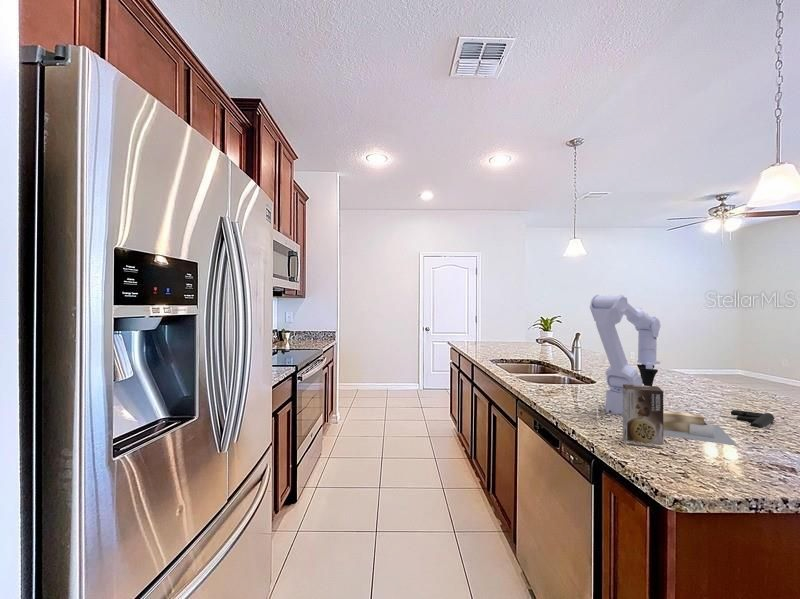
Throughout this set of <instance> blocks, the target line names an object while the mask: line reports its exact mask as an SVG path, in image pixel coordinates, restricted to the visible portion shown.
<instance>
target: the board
mask: <svg viewBox="0 0 800 599" xmlns="http://www.w3.org/2000/svg"><path fill="white" fill-rule="evenodd" d="M710 424H711V423H710ZM711 425H712V426H713V427H714V438H713V437H705V436H698V435H690V434H689V433H687V432H680V431H672V430H664V429H663V434H664V436H665V437H672V438H678V439H679V438H680V439H686V440H693V441H701V442H708V443H716V444H722V445H730V446H737V447H738V446H739V444H737V443H736V442H735V440H733V439H732V438H731V437H730V435H728V433H726V431H725V430H723V429H722V428H721V426H719V425H718V424H711ZM664 436H663V437H664Z"/></svg>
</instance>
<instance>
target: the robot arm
mask: <svg viewBox="0 0 800 599" xmlns="http://www.w3.org/2000/svg"><path fill="white" fill-rule="evenodd" d="M589 309H590V312H591V315H592V318H593V321H594V322H595V327H596V329H597V332H598V334H599V337H600V340H601V343H602V346H603V349H604V353H605V355H606V357H607V360H608V363H609V365H610V366H608V368H607V369H606V370H605V376H606V383H607V386H608V387H609V389H606V390H605V405H604V411H605V413H608V414H615V415H621V416H623V384H628V385H645V386H654V385H653V384H654V379H655V377H656V374H657V373H658V372H659V370H658V369H655V365H660V364H661V361H659V360H658V361H657V338H658V337H659V332H660V329H661V322H660V320H659V318H658V317H656V316H651V315H649V313H648V312H645V311H644V310H643V308H641V307H633V306H632V305H631V303H629V302H628V298H627V297H625V295H623V294H618V295H617V294H615V295H613V294H612V295H611V294H610V295H609V294H608V295H607V294H606V295H603V294H602V295H599V294H596V295H593V296H592V298H591V300H590V304H589ZM623 316H625V317H626V320H627V321H628V322H630V323H631V324H632V325H633V326H634V328H635V330H636V332H637V331H638V336H637V337H638V343H637V344H638V346H637V354H638V355H637V364H636V366H637V368H638V369H636V368H635V367H633V366H631V365H630V364H629V363H628V360H627V357H626V354H625V351H624V348H623V346H622V342H621V339H620V337H619V334H618V331H617V328H616V325H617V324H619V323H621V321H622V319H623ZM638 370H639V372H638Z"/></svg>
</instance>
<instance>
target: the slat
mask: <svg viewBox="0 0 800 599" xmlns="http://www.w3.org/2000/svg"><path fill="white" fill-rule="evenodd" d="M704 421H705V416H703V414H695V413H686V412H680V411H679V412H678V411H668V410H663V429H664V430H672V431H680V432H687V433H689V423H692V424H701V425H704Z"/></svg>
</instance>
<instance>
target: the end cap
mask: <svg viewBox="0 0 800 599" xmlns="http://www.w3.org/2000/svg"><path fill="white" fill-rule="evenodd" d="M712 425H713V424H712ZM712 425H711V422H710V421H709V420H704V425H701V424H692V423H689V434H690V435H698V436H705V437H713V438H714V427H713V426H712Z"/></svg>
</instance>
